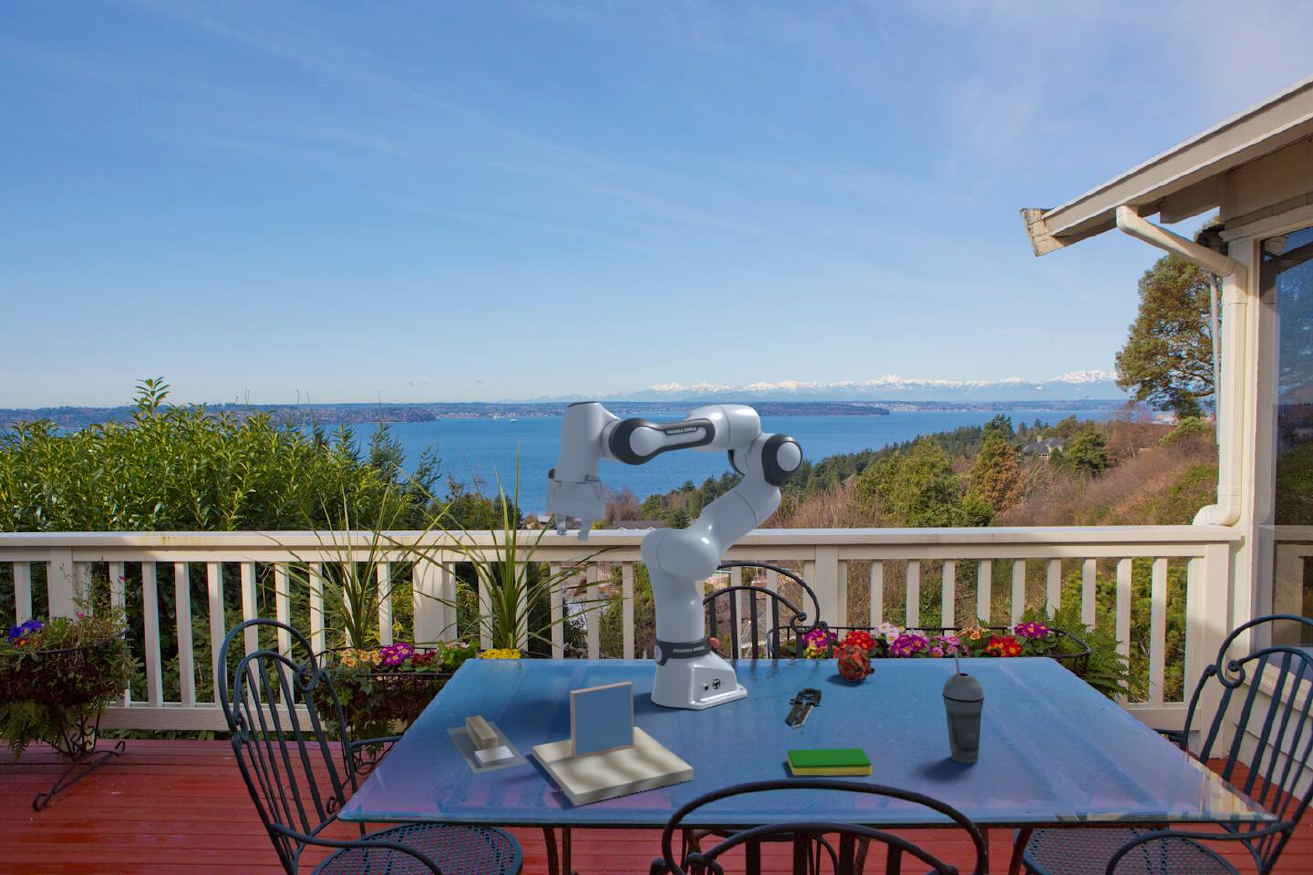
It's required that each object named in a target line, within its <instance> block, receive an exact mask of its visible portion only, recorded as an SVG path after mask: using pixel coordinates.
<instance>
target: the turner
mask: <svg viewBox="0 0 1313 875" xmlns="http://www.w3.org/2000/svg"><path fill="white" fill-rule="evenodd" d="M486 722H487V721H486V720H485V719H484V718H483V716H481V715H475V716H470V717H466V718H465V726H466V733H467V734H468V735H469V737H470V738H471V740H472V741H473V742H474V744H475V745H476V747H477V748H478V749H479V751H476V752H475V758H476V759H477V761H478V762H479V764H480V765H481V767H482V768H485V767H490V766H496V765H501V764H506V763H511V762H515V760H514V755H513V754H512V753H511V752H510V750H509V749H508V748H507V747H506V746H502V747H498V736H497V735H496V734H495V733H494V731H493V730H492V729H491V728H490V726H489V725H488V724H487V723H486Z"/></svg>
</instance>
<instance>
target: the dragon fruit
mask: <svg viewBox="0 0 1313 875" xmlns="http://www.w3.org/2000/svg"><path fill="white" fill-rule="evenodd" d="M869 656H870V653H869V651H868V650H865V649H862V648H861V647H860V646H858V645H854V646H853V645H847V646H846V647H845V648H844V649H843V650H841V651H840V652H839V653H838V654H837V658H838V661H837V664H836V666H837V669H838V673H839V675H840V676H841V677H842V676H844V678H845V679H846V680H847V681H848V682H850V683H855V682H856V681H857V679H859V680H864V679H866V678H867V677H868V675H873V674H874V673H875V671H876V668H875V667H872V661H873V660H872V659H871V658H870V657H869Z"/></svg>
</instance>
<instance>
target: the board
mask: <svg viewBox="0 0 1313 875" xmlns="http://www.w3.org/2000/svg"><path fill="white" fill-rule="evenodd" d="M531 755H532V756H533V757H534V758H535V760H536V761H537V762H538V763H539V764H540V765H541V767H543V768H544V769H545V770H546V772H547V773H548V774H549V776H550V777H551V778H552V779H553V780H554V781H555V782H556V784H558V786H559V788H560V789H561V790H562V791H563V792H564V793H563V792H562V791H561V790H560V789H559V790H560V791H561V792H562V793H563V794H564V796H565V797H566V796H567V797H569V799H570V800H571V801H572V802H573V803H574V804H575V805H581V804H584V803H589V802H593V801H598V800H602V799H605V798H610V797H616V798H618V797H617V796H621V797H623V796H622V795H625V796H628V795H627V794H629V795H632V794H631V793H634V794H636V793H635V792H638V793H641V792H640V791H642V792H645V791H644V790H647V791H650V790H649V789H651V790H653V789H652V788H655V789H658V788H657V787H660V788H662V787H661V786H664V787H667V786H672V785H676V784H681V783H680V782H682V783H686V782H690V781H693V780H694V768H693V767H692V766H690V764H688V763H686V761H684V760H683V759H681V758H680V757H679V756H677V754H675V753H673V752H672V751H671V750H669V749H668V748H666V747H665V746H664V745H662V744H661V743H660V742H659V741H657V740H656V739H654V738H653V737H652V736H651V735H649V734H648V733H646V732H645V731H644V730H642V729H641V728H639V726H634V747H632V748H627V749H622V750H617V751H612V752H607V753H602V754H597V755H592V756H587V757H582V758H578V759H574V758H573V757H572V756H571V738H570V739H565V740H560V741H555V742H548V743H544V744H539V745H534V746H531ZM689 780H690V781H689ZM685 781H686V782H685ZM567 797H566V798H567ZM569 799H568V800H569ZM570 800H569V801H570ZM571 801H570V802H571ZM572 802H571V803H572Z"/></svg>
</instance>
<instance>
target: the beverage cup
mask: <svg viewBox="0 0 1313 875" xmlns="http://www.w3.org/2000/svg"><path fill="white" fill-rule="evenodd" d="M953 652H954V660H955V667H956V673H954V674H952V675H951V676H949V677H948V678H947V679H946V681H945V683H944V685H943V690H942V698H943V702H944V706H945V713H946V722H947V730H948V739H949V748H950V754H951V759H952V760H953V761H955V762H957V763H962V764H975V763H977V762H978V760H979V752H980V751H979V750H980V739H981V738H980V737H981V736H980V735H981V722H982V721H981V720H982V710H983V705H984V701H985V695H984V691H983V688H982V685H981V684H980V682H979V681H978V680H977V679H976V678H975V677H974V676H972V674H969V673H966V672H961V670H960V665H959V656H958V655H959V654H958V649H957V648H954V649H953Z"/></svg>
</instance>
